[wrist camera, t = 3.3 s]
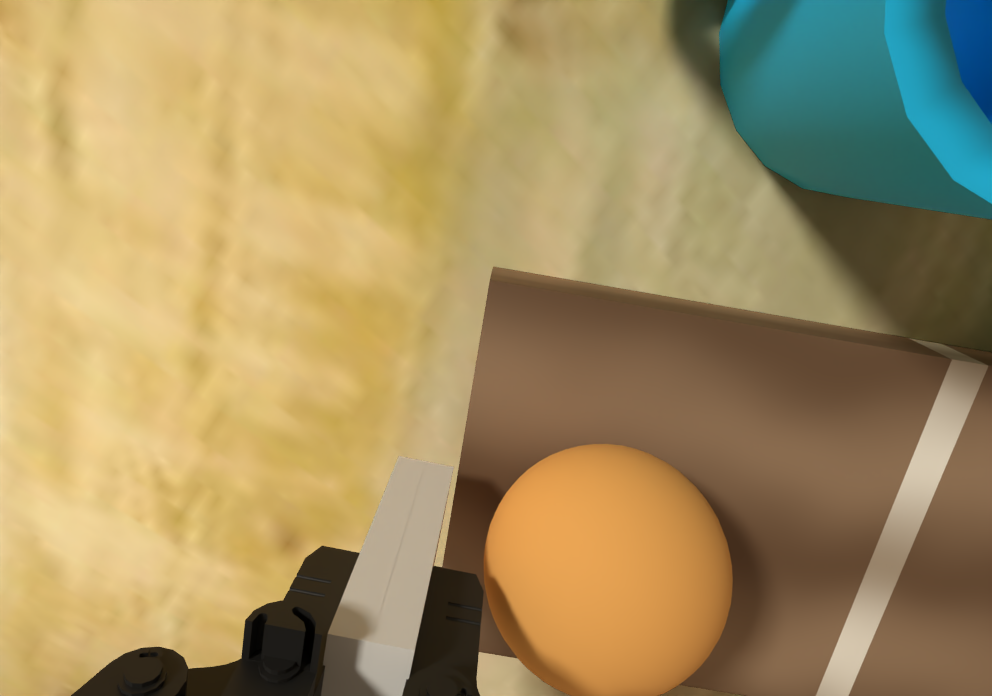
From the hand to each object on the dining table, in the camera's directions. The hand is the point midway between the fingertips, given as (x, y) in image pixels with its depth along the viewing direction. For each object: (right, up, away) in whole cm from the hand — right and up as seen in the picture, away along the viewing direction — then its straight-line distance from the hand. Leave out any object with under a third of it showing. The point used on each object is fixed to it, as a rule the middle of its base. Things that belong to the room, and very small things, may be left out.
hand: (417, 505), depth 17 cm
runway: (+11, -1, +3) cm, 11 cm away
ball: (+5, -1, -1) cm, 5 cm away
